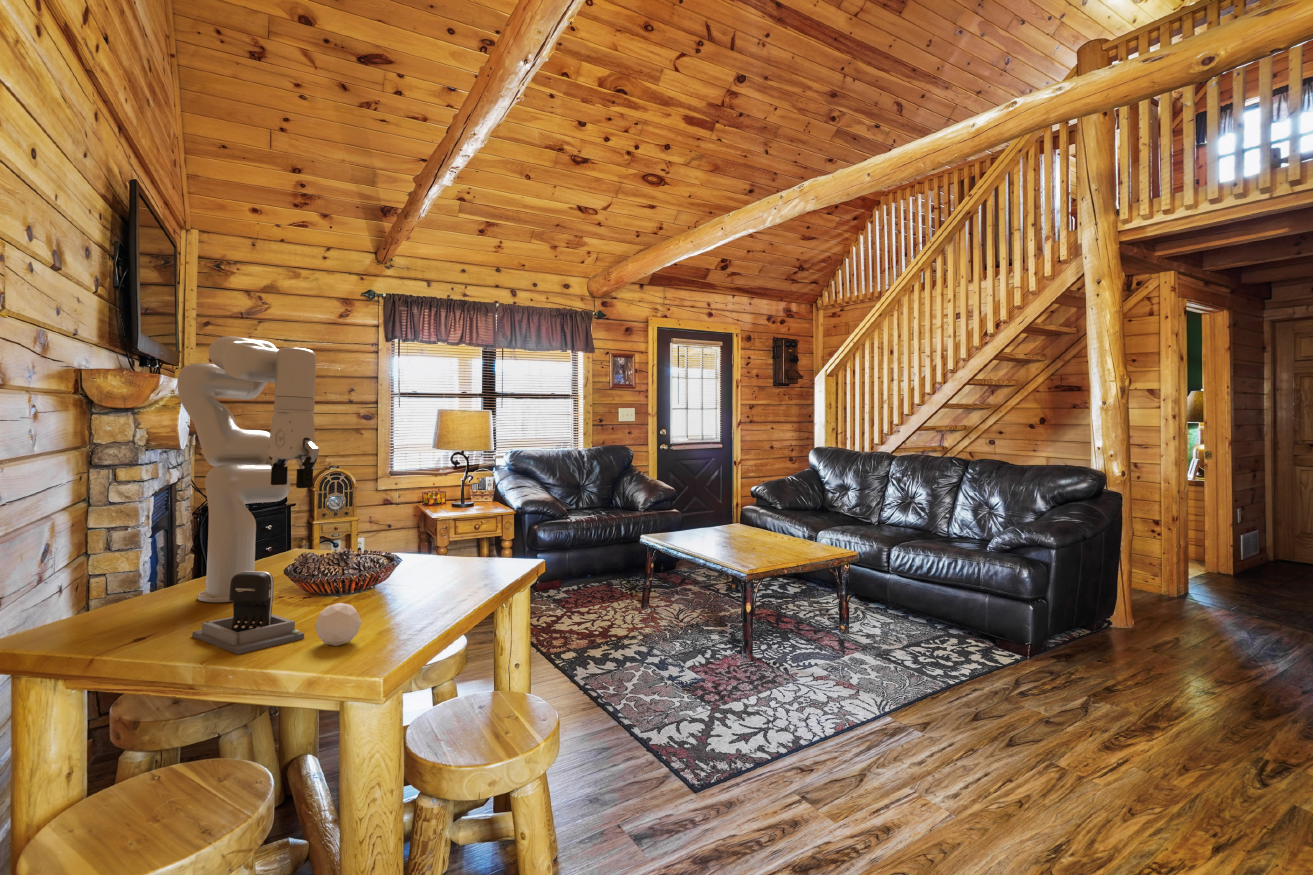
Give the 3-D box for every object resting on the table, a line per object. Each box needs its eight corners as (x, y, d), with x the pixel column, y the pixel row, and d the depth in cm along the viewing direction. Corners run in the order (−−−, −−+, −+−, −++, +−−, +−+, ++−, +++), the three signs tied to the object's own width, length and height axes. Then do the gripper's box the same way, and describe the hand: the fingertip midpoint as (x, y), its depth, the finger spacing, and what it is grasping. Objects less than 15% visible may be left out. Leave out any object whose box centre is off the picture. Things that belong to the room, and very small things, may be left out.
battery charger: (224, 633, 123) (226, 573, 124) (237, 628, 127) (239, 569, 127) (261, 635, 124) (264, 575, 124) (273, 629, 127) (275, 571, 127)
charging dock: (192, 636, 125) (193, 620, 125) (257, 622, 135) (258, 608, 135) (237, 654, 116) (238, 637, 116) (304, 638, 126) (304, 622, 126)
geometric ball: (341, 660, 122) (340, 634, 118) (306, 642, 124) (303, 615, 119) (370, 631, 128) (369, 605, 124) (336, 614, 130) (335, 588, 125)
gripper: (254, 405, 140) (251, 484, 140) (299, 405, 131) (296, 490, 131) (289, 407, 146) (286, 483, 146) (335, 407, 137) (331, 488, 137)
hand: (291, 486), depth 138 cm, fingers open, 9 cm apart
